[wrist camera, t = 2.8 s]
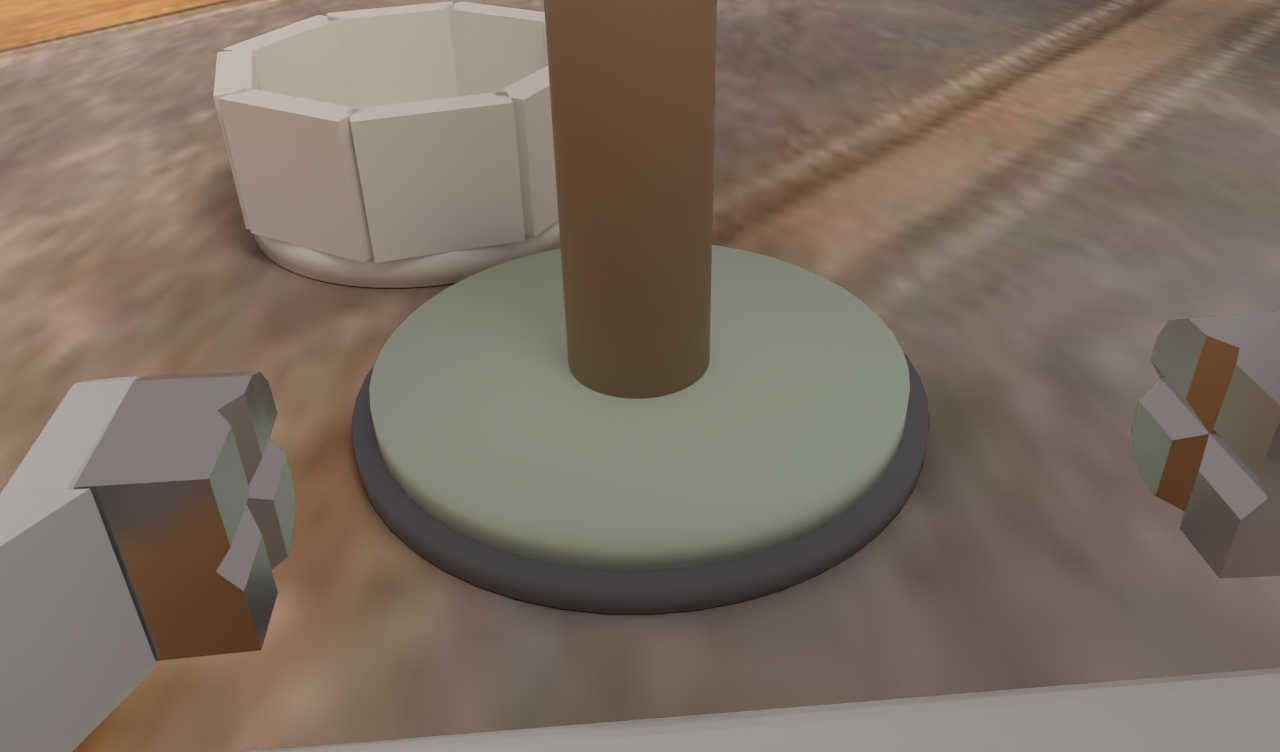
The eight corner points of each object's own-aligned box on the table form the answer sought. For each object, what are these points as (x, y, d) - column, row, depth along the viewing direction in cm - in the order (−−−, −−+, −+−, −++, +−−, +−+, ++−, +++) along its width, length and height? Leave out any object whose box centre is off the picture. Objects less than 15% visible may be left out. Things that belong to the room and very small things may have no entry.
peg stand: (556, 234, 31) (520, -275, 24) (965, 326, 27) (1070, -275, 19) (257, 459, 23) (65, -235, 16) (786, 658, 18) (857, -216, 11)
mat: (552, 242, 32) (550, 224, 32) (986, 342, 27) (990, 322, 27) (228, 487, 23) (222, 465, 22) (802, 715, 18) (803, 690, 17)
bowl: (403, 125, 41) (383, -9, 38) (657, 174, 36) (656, 26, 34) (177, 241, 33) (131, 81, 30) (468, 322, 28) (445, 143, 26)
